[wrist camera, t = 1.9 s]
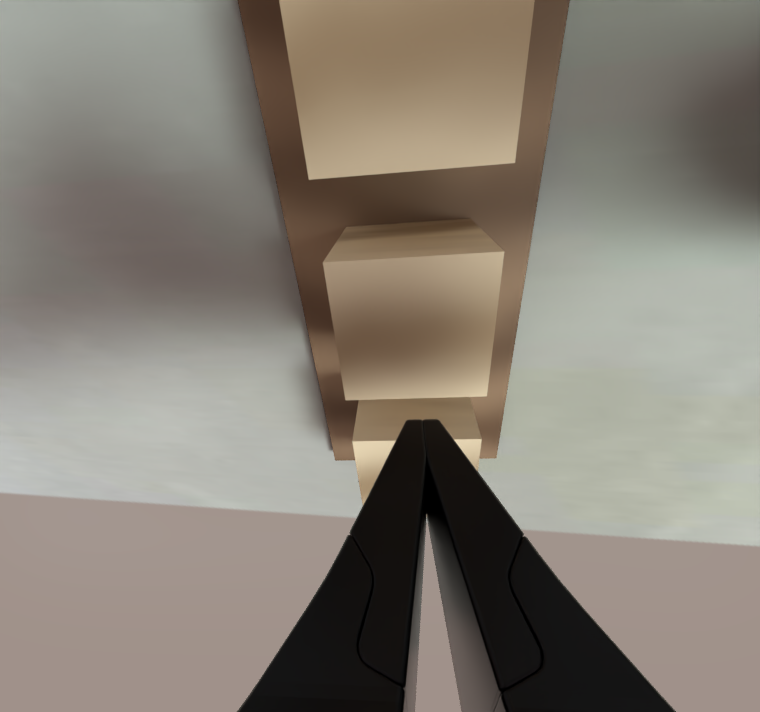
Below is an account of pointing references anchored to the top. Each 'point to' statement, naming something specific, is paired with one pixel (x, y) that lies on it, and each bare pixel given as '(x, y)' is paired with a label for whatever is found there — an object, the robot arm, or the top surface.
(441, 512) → the robot arm
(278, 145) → the walnut mat
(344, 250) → the plain block
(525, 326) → the top surface
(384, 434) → the block four
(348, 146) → the block seven
